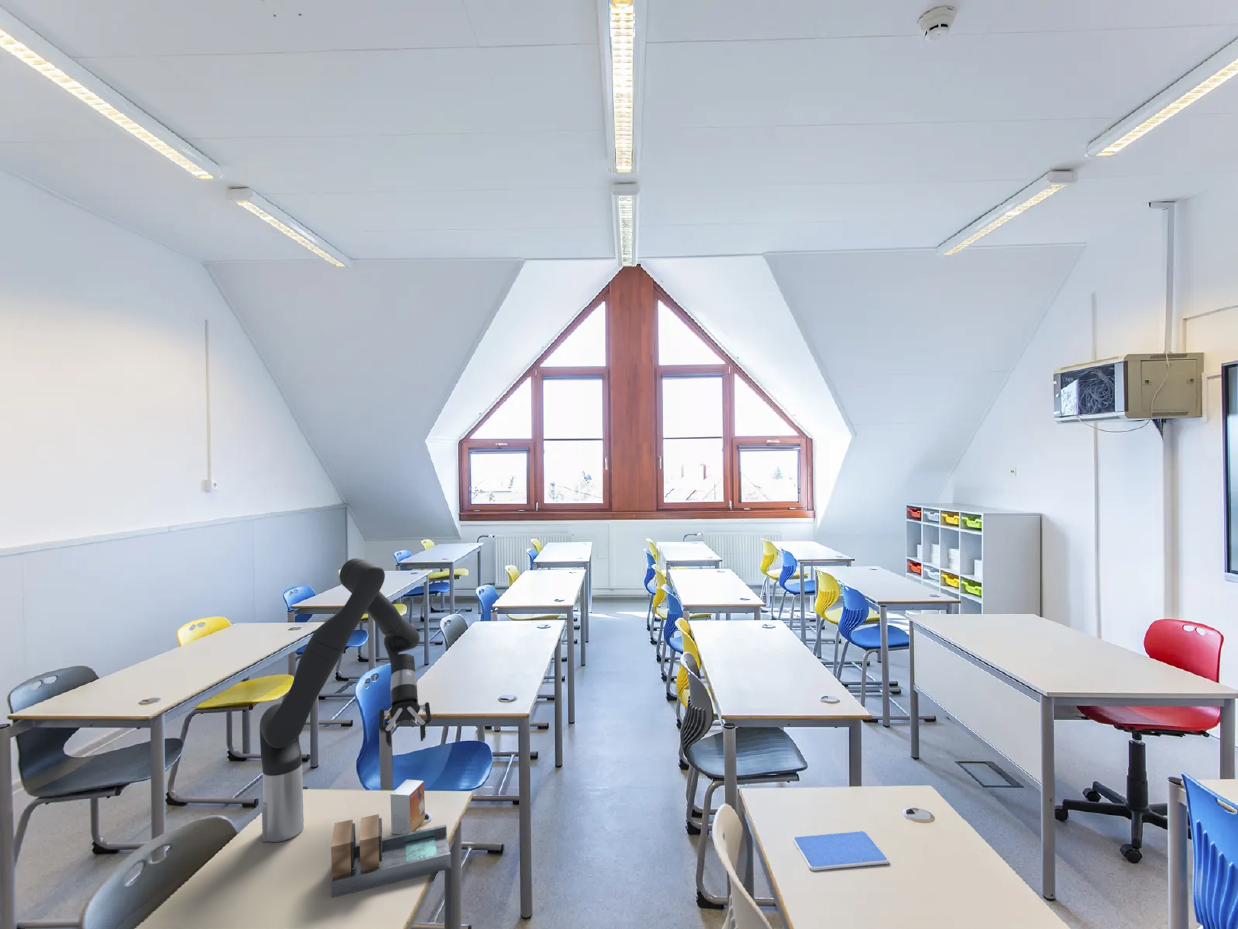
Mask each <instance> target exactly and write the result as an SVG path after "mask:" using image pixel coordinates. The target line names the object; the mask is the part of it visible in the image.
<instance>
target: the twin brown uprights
mask: <svg viewBox="0 0 1238 929" xmlns="http://www.w3.org/2000/svg"><path fill="white" fill-rule="evenodd" d="M382 824H383V820H382V817H380V814H379V813H378V814H373V815H368V816H363V817H361V819H360V830H359V833H360V834H359V843H360V870H361V872H364V871H368V870H373V869H377V868H380V862H381V861H382V838H383V826H382ZM356 844H357V843H356V823H353V819H349V820H343V821H339V822H335V823H334V826H333V832H332V839H331V845H330V855H331V856H330V858H331V859H330V860H331V863H330V864H331V880H332V879H334V878H338V877H343V876H347V875H351V874H352V869H353V868H354V863H355V851H356Z"/></svg>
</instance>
